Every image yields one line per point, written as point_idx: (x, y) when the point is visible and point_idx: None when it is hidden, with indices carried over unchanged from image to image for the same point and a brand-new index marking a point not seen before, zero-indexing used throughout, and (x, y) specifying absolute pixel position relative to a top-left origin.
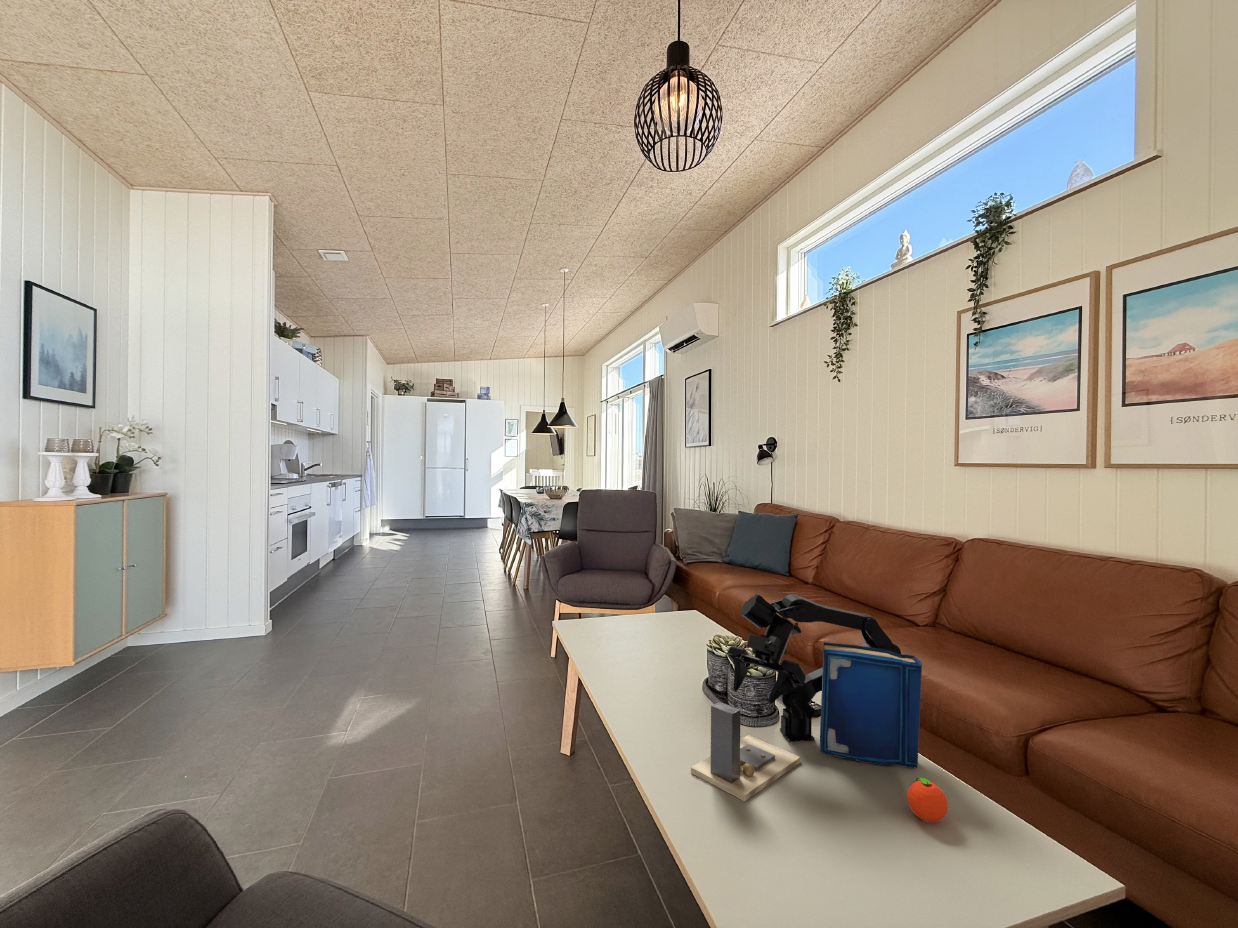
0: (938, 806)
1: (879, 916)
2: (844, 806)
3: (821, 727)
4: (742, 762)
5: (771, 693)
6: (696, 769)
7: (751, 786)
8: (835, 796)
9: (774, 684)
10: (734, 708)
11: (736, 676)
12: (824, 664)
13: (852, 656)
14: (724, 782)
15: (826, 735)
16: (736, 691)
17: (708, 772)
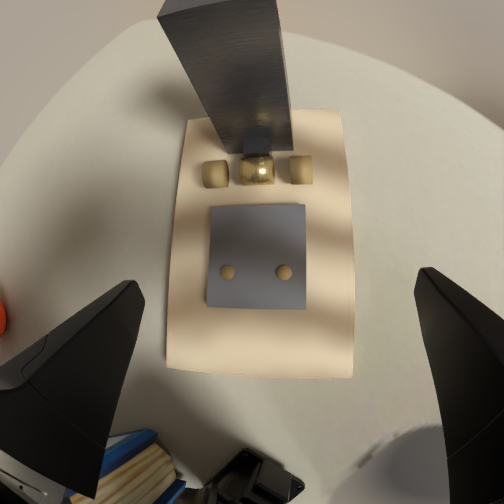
0: None
1: (34, 121)
2: (61, 259)
3: (116, 456)
4: (240, 178)
5: (99, 309)
6: (324, 111)
7: (191, 150)
8: (76, 278)
9: (55, 354)
10: (183, 8)
11: (487, 324)
12: None
13: None
14: None
15: (113, 445)
16: (414, 295)
17: (296, 120)
